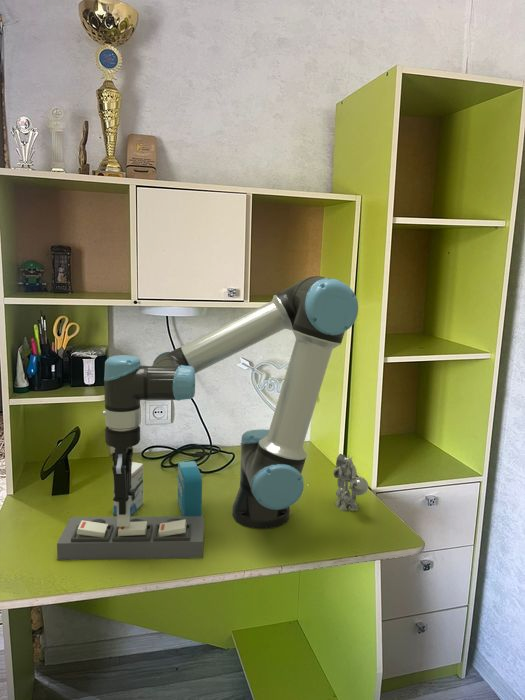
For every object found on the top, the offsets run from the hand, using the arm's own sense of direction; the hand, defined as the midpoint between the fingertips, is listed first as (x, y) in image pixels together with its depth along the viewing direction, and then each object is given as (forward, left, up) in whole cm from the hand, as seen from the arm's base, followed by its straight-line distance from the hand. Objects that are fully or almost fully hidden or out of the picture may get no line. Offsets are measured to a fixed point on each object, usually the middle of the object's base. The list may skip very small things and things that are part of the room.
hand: (123, 524), depth 126 cm
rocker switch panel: (-2, -2, -6) cm, 7 cm away
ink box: (+2, -20, -7) cm, 22 cm away
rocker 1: (+7, 0, -1) cm, 7 cm away
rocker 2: (-11, 0, -1) cm, 11 cm away
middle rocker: (-2, 0, -1) cm, 2 cm away
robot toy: (-58, -20, -7) cm, 61 cm away
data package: (-14, -19, -7) cm, 25 cm away
